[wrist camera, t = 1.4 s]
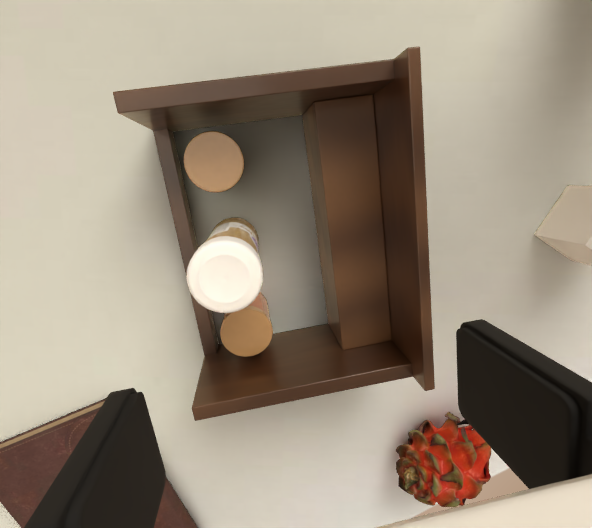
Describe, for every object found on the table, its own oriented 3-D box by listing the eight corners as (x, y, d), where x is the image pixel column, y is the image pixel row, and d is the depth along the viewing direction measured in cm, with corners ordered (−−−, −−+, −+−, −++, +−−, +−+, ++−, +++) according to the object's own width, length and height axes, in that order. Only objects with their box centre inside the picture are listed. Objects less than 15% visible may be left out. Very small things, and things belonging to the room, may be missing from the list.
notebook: (79, 579, 41) (71, 599, 39) (-23, 451, 35) (-39, 467, 33) (200, 527, 41) (198, 544, 39) (117, 393, 36) (110, 405, 34)
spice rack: (155, 118, 30) (98, 82, 19) (358, 93, 32) (420, 45, 20) (209, 356, 36) (190, 440, 25) (378, 324, 38) (435, 389, 26)
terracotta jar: (221, 291, 35) (215, 313, 29) (265, 283, 35) (268, 304, 29) (229, 331, 36) (225, 361, 30) (272, 323, 36) (276, 351, 30)
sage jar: (190, 142, 31) (177, 135, 25) (240, 136, 31) (238, 127, 26) (201, 193, 32) (190, 196, 26) (248, 186, 33) (248, 188, 27)
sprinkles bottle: (267, 246, 34) (278, 288, 21) (228, 272, 34) (216, 329, 21) (240, 206, 33) (234, 225, 20) (200, 233, 33) (168, 269, 20)
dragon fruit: (370, 445, 43) (449, 396, 45) (411, 518, 40) (493, 462, 42) (385, 453, 35) (480, 393, 37) (437, 545, 33) (537, 475, 34)
